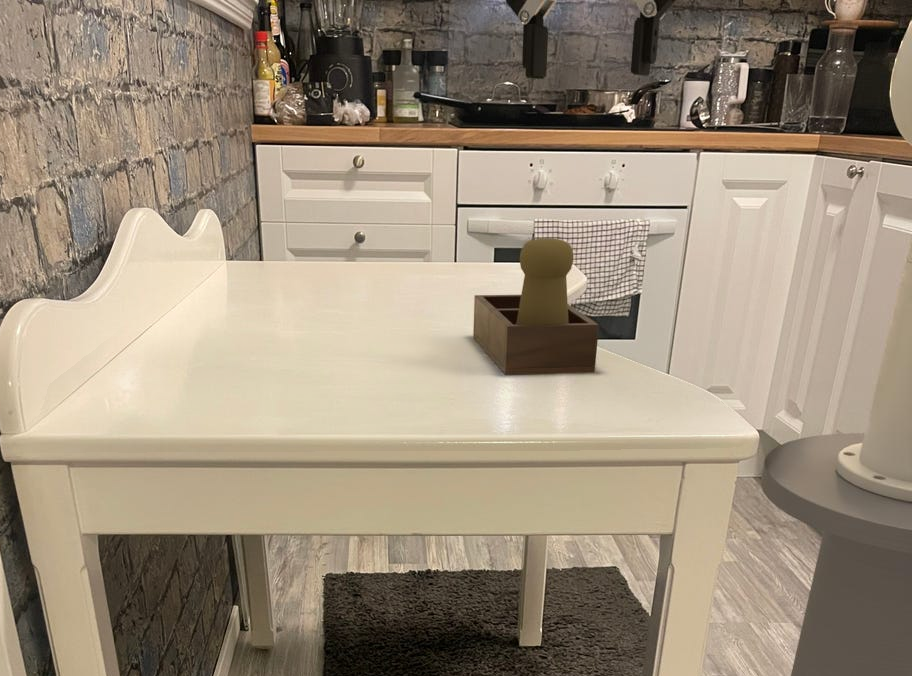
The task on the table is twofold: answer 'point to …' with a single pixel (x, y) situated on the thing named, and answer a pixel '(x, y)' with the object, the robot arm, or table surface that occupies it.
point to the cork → (545, 281)
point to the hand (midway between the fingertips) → (586, 76)
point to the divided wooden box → (533, 339)
